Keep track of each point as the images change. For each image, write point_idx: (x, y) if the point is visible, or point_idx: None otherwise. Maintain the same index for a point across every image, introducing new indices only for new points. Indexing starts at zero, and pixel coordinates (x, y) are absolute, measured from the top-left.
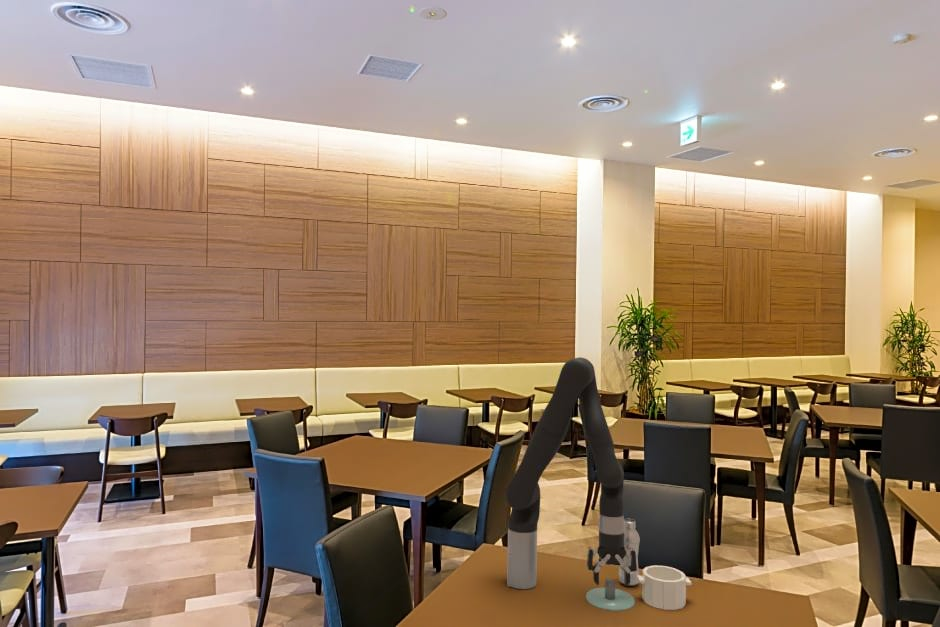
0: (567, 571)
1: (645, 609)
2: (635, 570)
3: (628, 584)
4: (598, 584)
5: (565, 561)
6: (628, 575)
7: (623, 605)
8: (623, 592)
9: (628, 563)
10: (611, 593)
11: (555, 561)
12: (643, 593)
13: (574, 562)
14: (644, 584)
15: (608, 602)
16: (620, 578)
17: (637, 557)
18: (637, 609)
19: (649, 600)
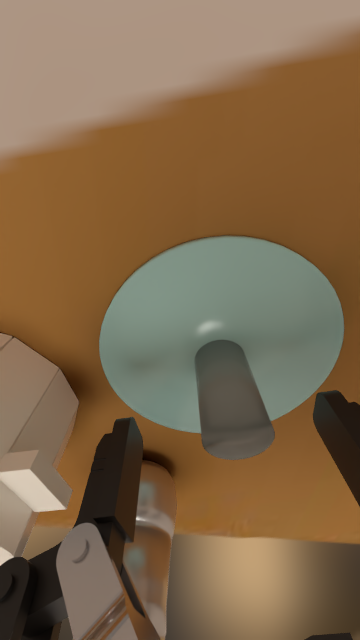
0: (340, 493)
1: (37, 300)
2: (4, 569)
3: None
4: (324, 392)
5: (326, 528)
6: (97, 498)
7: (151, 294)
8: (156, 413)
9: None
10: (220, 362)
11: (357, 525)
12: (56, 407)
13: (300, 528)
14: (18, 448)
15: (234, 309)
16: (169, 485)
17: None
18: (77, 289)
19: (19, 362)
